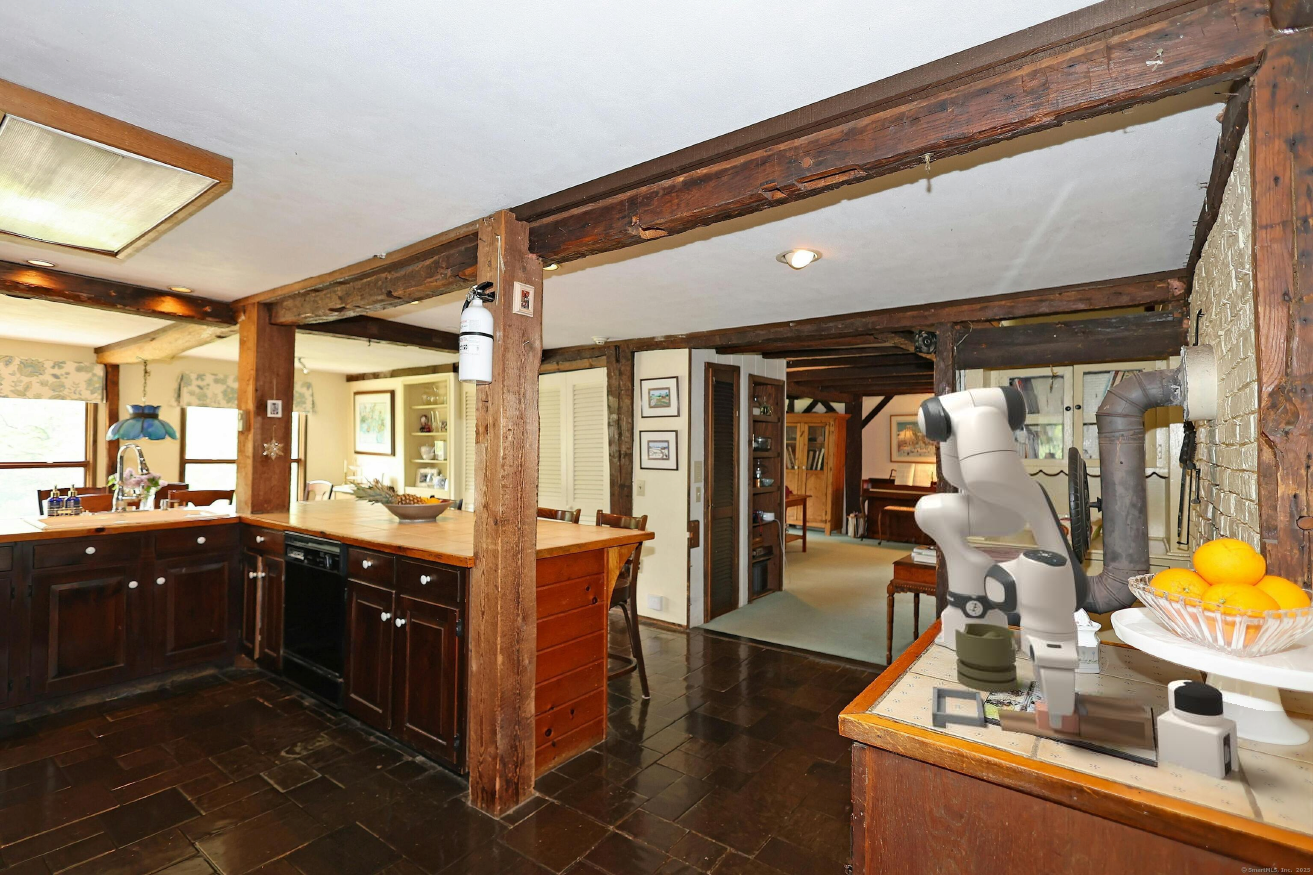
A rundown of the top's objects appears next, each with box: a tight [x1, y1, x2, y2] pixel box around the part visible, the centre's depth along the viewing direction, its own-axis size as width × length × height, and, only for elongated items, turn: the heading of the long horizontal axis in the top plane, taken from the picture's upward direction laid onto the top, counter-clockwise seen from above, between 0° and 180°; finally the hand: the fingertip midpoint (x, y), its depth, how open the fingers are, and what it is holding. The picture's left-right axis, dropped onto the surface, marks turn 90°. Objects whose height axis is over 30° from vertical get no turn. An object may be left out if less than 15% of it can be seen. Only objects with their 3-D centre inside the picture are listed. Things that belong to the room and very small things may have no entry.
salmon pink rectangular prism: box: [1034, 701, 1079, 733], centre depth 112 cm, size 4×10×3 cm, turn 66°
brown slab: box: [996, 691, 1156, 751], centre depth 112 cm, size 10×22×6 cm, turn 66°
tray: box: [931, 686, 986, 729], centre depth 121 cm, size 14×9×2 cm, turn 156°
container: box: [1156, 679, 1240, 780], centre depth 99 cm, size 8×8×13 cm
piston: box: [955, 623, 1018, 694], centre depth 134 cm, size 11×12×11 cm
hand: (1052, 720), depth 113 cm, fingers closed on salmon pink rectangular prism, 4 cm apart
